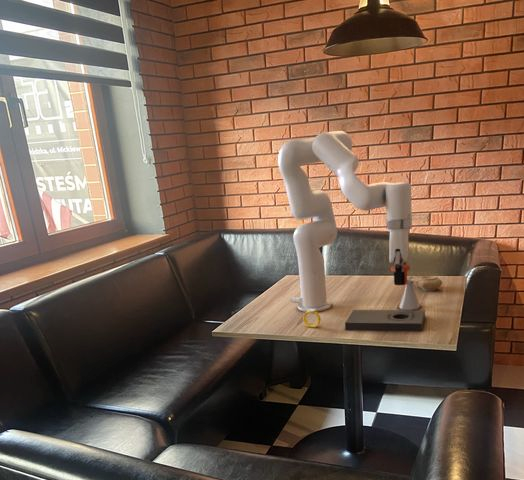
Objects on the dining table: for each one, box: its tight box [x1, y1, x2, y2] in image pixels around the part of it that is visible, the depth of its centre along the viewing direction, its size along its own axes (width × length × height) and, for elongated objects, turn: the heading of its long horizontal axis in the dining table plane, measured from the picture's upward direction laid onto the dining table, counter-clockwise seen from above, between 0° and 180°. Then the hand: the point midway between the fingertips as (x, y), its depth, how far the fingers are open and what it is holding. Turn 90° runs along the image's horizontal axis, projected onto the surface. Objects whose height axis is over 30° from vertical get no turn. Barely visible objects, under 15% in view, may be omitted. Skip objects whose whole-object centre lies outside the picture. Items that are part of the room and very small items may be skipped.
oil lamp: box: [407, 275, 443, 292], centre depth 210 cm, size 11×14×5 cm
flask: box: [399, 279, 421, 310], centre depth 189 cm, size 7×7×10 cm
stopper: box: [390, 264, 411, 286], centre depth 169 cm, size 6×6×6 cm
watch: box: [302, 309, 322, 328], centre depth 181 cm, size 6×3×6 cm, turn 57°
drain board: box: [344, 309, 426, 332], centre depth 177 cm, size 24×14×2 cm, turn 70°
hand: (400, 281), depth 170 cm, fingers closed on stopper, 5 cm apart
